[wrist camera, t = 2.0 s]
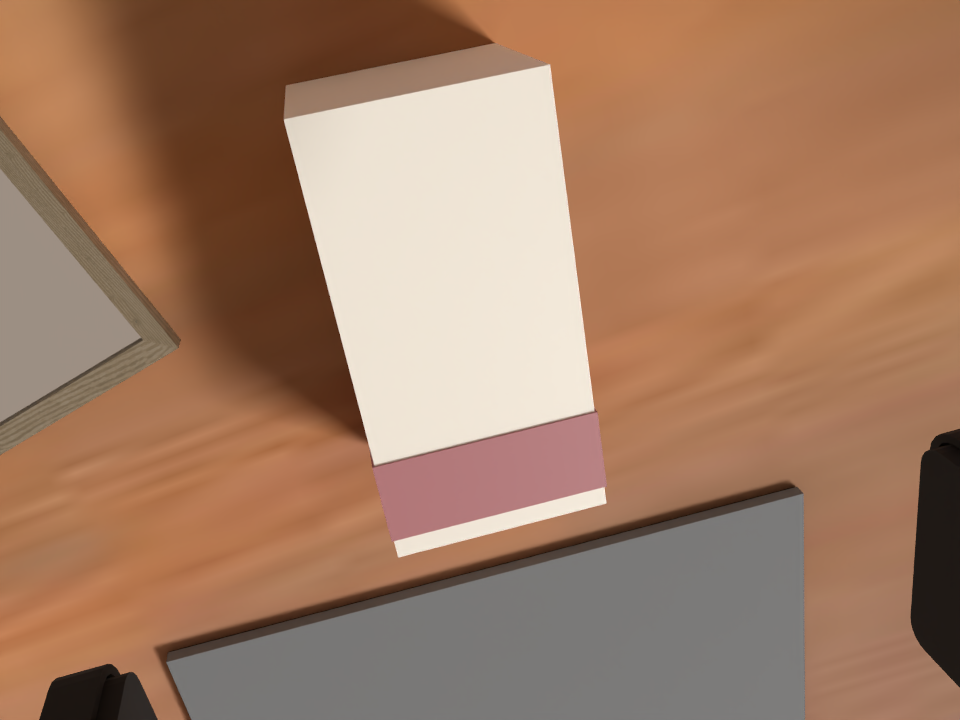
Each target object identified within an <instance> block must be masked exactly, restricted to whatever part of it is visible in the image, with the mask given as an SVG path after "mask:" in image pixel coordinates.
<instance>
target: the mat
mask: <svg viewBox="0 0 960 720" xmlns="http://www.w3.org/2000/svg"><path fill="white" fill-rule="evenodd" d="M166 663H167V665H168V667H169V670H170V672H171V674H172V677H173V679H174V681H175V683H176V686H177V688H178V690H179V692H180V695H181V697H182V699H183V702H184V704H185V706H186V708H187V711H188V713H189V715H190V718H191V720H805V660H804V501H803V493H802V492H801V491H800V489H799V488H798V487H794V488H791V489H787V490H783V491H779V492H775V493H772V494H768V495H764V496H760V497H757V498H753V499H749V500H745V501H741V502H738V503H734V504H730V505H726V506H722V507H719V508H715V509H711V510H707V511H703V512H700V513H696V514H692V515H688V516H684V517H681V518H677V519H673V520H669V521H665V522H662V523H658V524H654V525H650V526H646V527H643V528H639V529H635V530H631V531H627V532H624V533H620V534H616V535H612V536H608V537H605V538H601V539H597V540H593V541H590V542H586V543H582V544H578V545H574V546H571V547H567V548H563V549H559V550H555V551H552V552H548V553H544V554H540V555H536V556H533V557H529V558H525V559H521V560H517V561H514V562H510V563H506V564H502V565H498V566H495V567H491V568H487V569H483V570H479V571H476V572H472V573H468V574H464V575H460V576H457V577H453V578H449V579H445V580H442V581H438V582H434V583H430V584H426V585H423V586H419V587H415V588H411V589H407V590H404V591H400V592H396V593H392V594H388V595H385V596H381V597H377V598H373V599H369V600H366V601H362V602H358V603H354V604H350V605H347V606H343V607H339V608H335V609H331V610H328V611H324V612H320V613H316V614H312V615H309V616H305V617H301V618H297V619H294V620H290V621H286V622H282V623H278V624H275V625H271V626H267V627H263V628H259V629H256V630H252V631H248V632H244V633H240V634H237V635H233V636H229V637H225V638H221V639H218V640H214V641H210V642H206V643H202V644H199V645H195V646H191V647H187V648H183V649H180V650H176V651H172V652H168V655H167V661H166Z"/></svg>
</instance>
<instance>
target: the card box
mask: <svg viewBox="0 0 960 720" xmlns="http://www.w3.org/2000/svg"><path fill="white" fill-rule="evenodd" d="M284 123H285V127H286V130H287V134H288V138H289V142H290V146H291V149H292V153H293V157H294V161H295V165H296V169H297V172H298V176H299V180H300V184H301V188H302V191H303V195H304V199H305V203H306V207H307V211H308V214H309V218H310V222H311V226H312V230H313V233H314V237H315V241H316V245H317V249H318V253H319V256H320V260H321V264H322V268H323V272H324V275H325V279H326V283H327V287H328V291H329V295H330V298H331V302H332V306H333V310H334V314H335V317H336V321H337V325H338V329H339V333H340V336H341V340H342V344H343V348H344V352H345V356H346V359H347V363H348V367H349V371H350V375H351V378H352V382H353V386H354V390H355V394H356V398H357V401H358V405H359V409H360V413H361V417H362V420H363V424H364V428H365V432H366V436H367V440H368V443H369V449H370V456H371V462H372V468H373V472H374V476H375V480H376V483H377V487H378V491H379V495H380V499H381V502H382V506H383V510H384V514H385V518H386V521H387V525H388V529H389V533H390V537H391V540H392V542H393V541H394V543H395V546H396V550H397V554H398V557H402V556H406V555H409V554H413V553H417V552H421V551H425V550H429V549H433V548H436V547H440V546H444V545H448V544H452V543H456V542H459V541H463V540H467V539H471V538H475V537H479V536H483V535H486V534H490V533H494V532H498V531H502V530H506V529H510V528H513V527H517V526H521V525H525V524H529V523H533V522H537V521H540V520H544V519H548V518H552V517H556V516H560V515H564V514H567V513H571V512H575V511H579V510H583V509H587V508H591V507H594V506H598V505H602V504H606V497H605V489H604V487H607V484H606V476H605V468H604V460H603V453H602V445H601V437H600V429H599V421H598V413H597V411H596V410H595V408H594V404H593V396H592V388H591V380H590V373H589V365H588V357H587V349H586V341H585V334H584V326H583V318H582V310H581V303H580V295H579V287H578V279H577V272H576V264H575V256H574V248H573V240H572V233H571V225H570V217H569V209H568V202H567V194H566V186H565V178H564V170H563V163H562V155H561V147H560V139H559V132H558V124H557V116H556V108H555V100H554V93H553V85H552V77H551V69H550V64H547V63H545V62H542V61H540V60H537V59H534V58H532V57H529V56H527V55H524V54H522V53H519V52H517V51H514V50H511V49H509V48H506V47H504V46H501V45H499V44H496V43H493V44H488V45H483V46H478V47H473V48H468V49H464V50H459V51H454V52H449V53H444V54H439V55H434V56H429V57H424V58H419V59H414V60H409V61H404V62H399V63H394V64H389V65H384V66H379V67H374V68H369V69H364V70H360V71H355V72H350V73H345V74H340V75H335V76H330V77H325V78H320V79H315V80H310V81H305V82H300V83H295V84H290V85H286V91H285V106H284Z"/></svg>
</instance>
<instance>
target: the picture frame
mask: <svg viewBox="0 0 960 720" xmlns="http://www.w3.org/2000/svg"><path fill="white" fill-rule="evenodd" d="M180 341H181V339H180V338H179V337H178V336H177V334H176V333H175V332H174V331H173V330H172V328H171V327H170V326H169V325H168V323H167V322H166V321H165V320H164V318H163V317H162V316H161V315H160V313H159V312H158V311H157V310H156V309H155V307H154V306H153V305H152V304H151V302H150V301H149V300H148V299H147V297H146V296H145V295H144V294H143V292H142V291H141V290H140V289H139V287H138V286H137V285H136V284H135V283H134V281H133V280H132V279H131V278H130V276H129V275H128V274H127V273H126V271H125V270H124V269H123V268H122V266H121V265H120V264H119V263H118V261H117V260H116V259H115V258H114V257H113V255H112V254H111V253H110V252H109V250H108V249H107V248H106V247H105V245H104V244H103V243H102V242H101V240H100V239H99V238H98V237H97V235H96V234H95V233H94V232H93V231H92V229H91V228H90V227H89V226H88V224H87V223H86V222H85V221H84V219H83V218H82V217H81V216H80V214H79V213H78V212H77V211H76V210H75V208H74V207H73V206H72V205H71V203H70V202H69V201H68V200H67V198H66V197H65V196H64V195H63V193H62V192H61V191H60V190H59V188H58V187H57V186H56V185H55V184H54V182H53V181H52V180H51V179H50V177H49V176H48V175H47V174H46V172H45V171H44V170H43V169H42V167H41V166H40V165H39V164H38V162H37V161H36V160H35V159H34V158H33V156H32V155H31V154H30V153H29V151H28V150H27V149H26V148H25V146H24V145H23V144H22V143H21V141H20V140H19V139H18V138H17V136H16V135H15V134H14V133H13V132H12V130H11V129H10V128H9V127H8V125H7V124H6V123H5V122H4V120H3V119H2V118H1V117H0V455H1V454H3V453H4V452H6V451H8V450H9V449H11V448H13V447H14V446H16V445H18V444H19V443H21V442H23V441H24V440H26V439H28V438H29V437H31V436H33V435H34V434H36V433H38V432H39V431H41V430H43V429H44V428H46V427H48V426H49V425H51V424H53V423H54V422H56V421H58V420H59V419H61V418H63V417H64V416H66V415H68V414H69V413H71V412H73V411H74V410H76V409H78V408H79V407H81V406H83V405H84V404H86V403H88V402H89V401H91V400H93V399H94V398H96V397H98V396H99V395H101V394H103V393H104V392H106V391H108V390H109V389H111V388H113V387H114V386H116V385H118V384H119V383H121V382H123V381H124V380H126V379H128V378H129V377H131V376H133V375H134V374H136V373H138V372H139V371H141V370H143V369H144V368H146V367H148V366H149V365H151V364H153V363H154V362H156V361H158V360H159V359H161V358H163V357H164V356H166V355H168V354H169V353H171V352H173V351H174V350H176V349H178V348H179V344H180Z"/></svg>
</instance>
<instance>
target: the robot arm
mask: <svg viewBox="0 0 960 720" xmlns="http://www.w3.org/2000/svg"><path fill="white" fill-rule="evenodd" d="M911 625H912V628H913V631H914V634H915V636H916V638H917V640H918V642H919V643H920V645H921V646H922V648H923V649H924V650H925V651H926V652H927V653H928V654H929V655H930V656H931V658H932V659H933V660H934V661H935V662H936V663H937V664H938V665H939V666H940V667H941V668H942V669H943V670H944V671H945V672H946V673H947V675H948V676H949V677H950V678H951V679H952V680H953V681H954V682H955V683H956V684H957V685H958V686H959V687H960V429H957V430H954V431H950V432H946V433H943V434H940V435H938V436H936V437H935V438H934V440H933V441H932V442H931V447H930V450H928V451H926V452H925V453H924V454H923V456H922V460H921V470H920V485H919V500H918V515H917V530H916V545H915V560H914V575H913V589H912V604H911ZM39 720H158V719H157V717H156V715H155V713H154V711H153V708H152V706H151V704H150V702H149V700H148V698H147V696H146V693H145V691H144V689H143V687H142V685H141V683H140V681H139V679H138V677H137V675H136V674H134V673H133V672H129V673H125V674H122V675H120V673H119V672H118V670H117V668H116V667H114V666H113V665H112V664H106V665H103V666H99V667H95V668H92V669H88V670H84V671H81V672H77V673H74V674H70V675H66V676H63V677H59V678H56V679H55V680H54V681H53V682H52V683H51V686H50V688H49V690H48V693H47V696H46V700H45V703H44V706H43V709H42V713H41V716H40V719H39Z"/></svg>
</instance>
